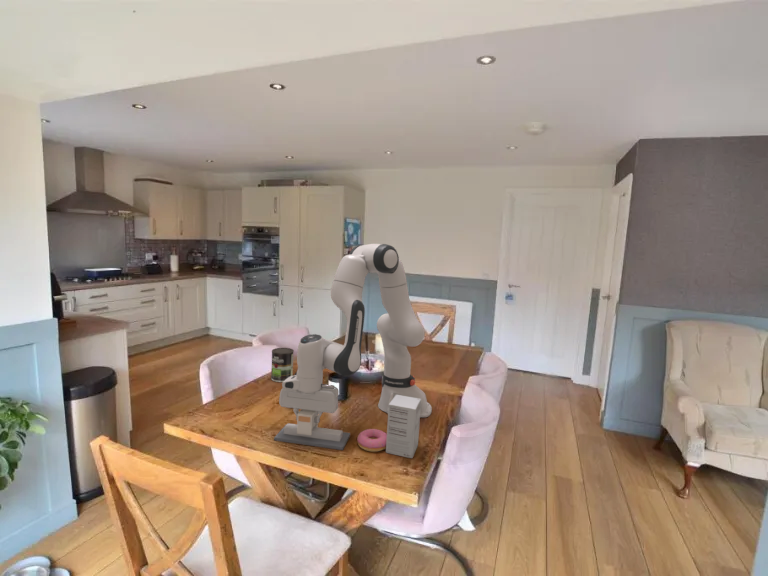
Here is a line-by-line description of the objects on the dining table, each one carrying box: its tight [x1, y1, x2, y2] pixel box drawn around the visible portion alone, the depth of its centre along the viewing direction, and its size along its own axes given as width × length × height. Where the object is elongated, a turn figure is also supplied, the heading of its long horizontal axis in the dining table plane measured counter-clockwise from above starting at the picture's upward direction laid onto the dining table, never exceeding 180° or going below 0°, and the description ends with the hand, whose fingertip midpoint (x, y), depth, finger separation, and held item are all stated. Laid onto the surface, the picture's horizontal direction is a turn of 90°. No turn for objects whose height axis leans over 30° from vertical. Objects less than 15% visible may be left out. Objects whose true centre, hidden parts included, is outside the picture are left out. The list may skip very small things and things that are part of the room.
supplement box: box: [385, 395, 421, 459], centre depth 130 cm, size 10×9×17 cm
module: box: [296, 409, 319, 435], centre depth 134 cm, size 5×7×7 cm
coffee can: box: [270, 347, 295, 383], centre depth 190 cm, size 10×10×14 cm
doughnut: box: [356, 428, 387, 453], centre depth 133 cm, size 11×11×4 cm
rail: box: [273, 422, 351, 451], centre depth 135 cm, size 24×10×3 cm, turn 81°
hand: (307, 421), depth 135 cm, fingers closed on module, 5 cm apart
